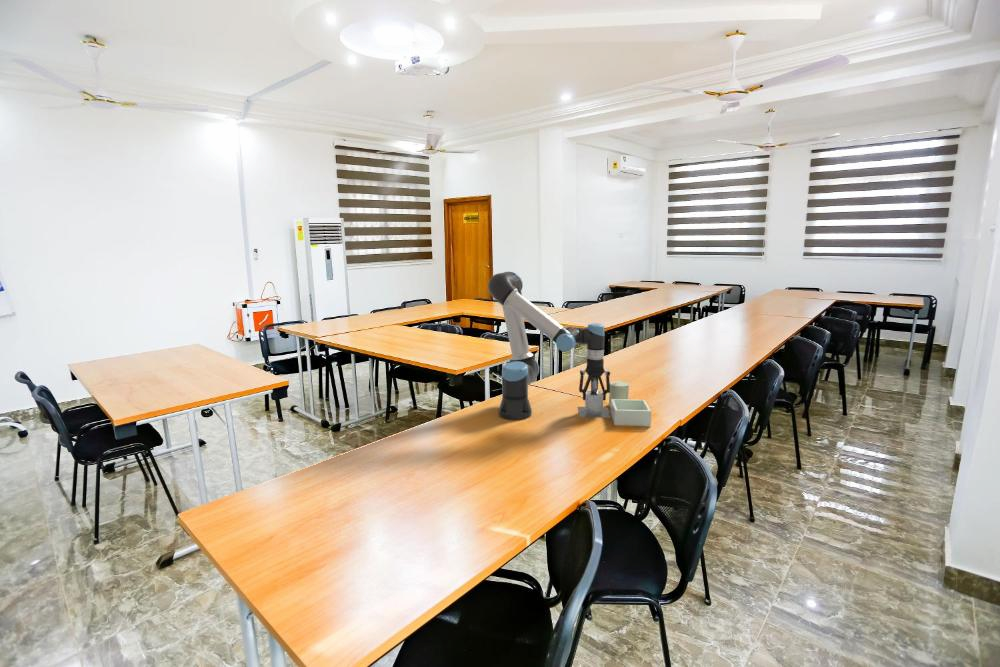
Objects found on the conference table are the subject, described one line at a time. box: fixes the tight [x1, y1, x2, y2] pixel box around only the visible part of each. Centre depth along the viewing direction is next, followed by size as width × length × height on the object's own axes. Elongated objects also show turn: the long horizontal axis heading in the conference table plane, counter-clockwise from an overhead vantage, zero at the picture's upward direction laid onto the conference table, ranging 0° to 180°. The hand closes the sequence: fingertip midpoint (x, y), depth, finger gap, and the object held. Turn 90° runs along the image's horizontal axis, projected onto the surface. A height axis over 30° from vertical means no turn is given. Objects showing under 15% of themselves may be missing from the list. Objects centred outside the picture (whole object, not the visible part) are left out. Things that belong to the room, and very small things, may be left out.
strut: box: [586, 378, 602, 415], centre depth 226 cm, size 6×6×16 cm
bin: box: [610, 398, 652, 428], centre depth 218 cm, size 15×15×7 cm
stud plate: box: [577, 406, 612, 419], centre depth 227 cm, size 14×14×8 cm
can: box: [608, 380, 630, 408], centre depth 235 cm, size 9×9×12 cm
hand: (593, 406), depth 227 cm, fingers closed on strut, 6 cm apart
